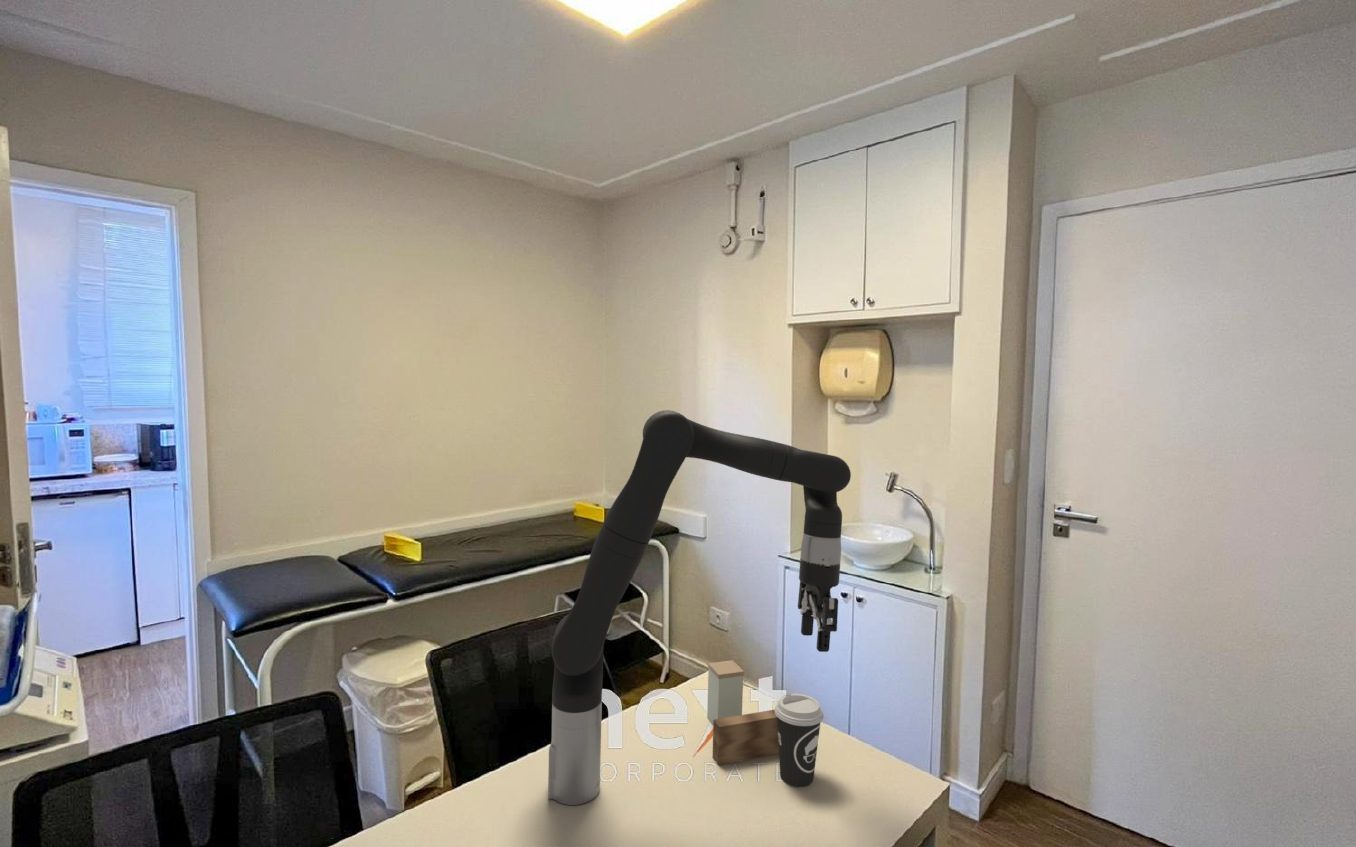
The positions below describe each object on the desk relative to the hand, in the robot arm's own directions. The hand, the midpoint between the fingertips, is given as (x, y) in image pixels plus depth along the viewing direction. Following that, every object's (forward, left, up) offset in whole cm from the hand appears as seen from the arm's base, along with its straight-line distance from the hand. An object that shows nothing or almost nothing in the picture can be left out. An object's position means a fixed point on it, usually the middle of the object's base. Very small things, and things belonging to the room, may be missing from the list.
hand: (814, 642), depth 120 cm
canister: (-15, +23, -28) cm, 39 cm away
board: (-10, +10, -28) cm, 32 cm away
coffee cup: (-2, +3, -29) cm, 29 cm away
